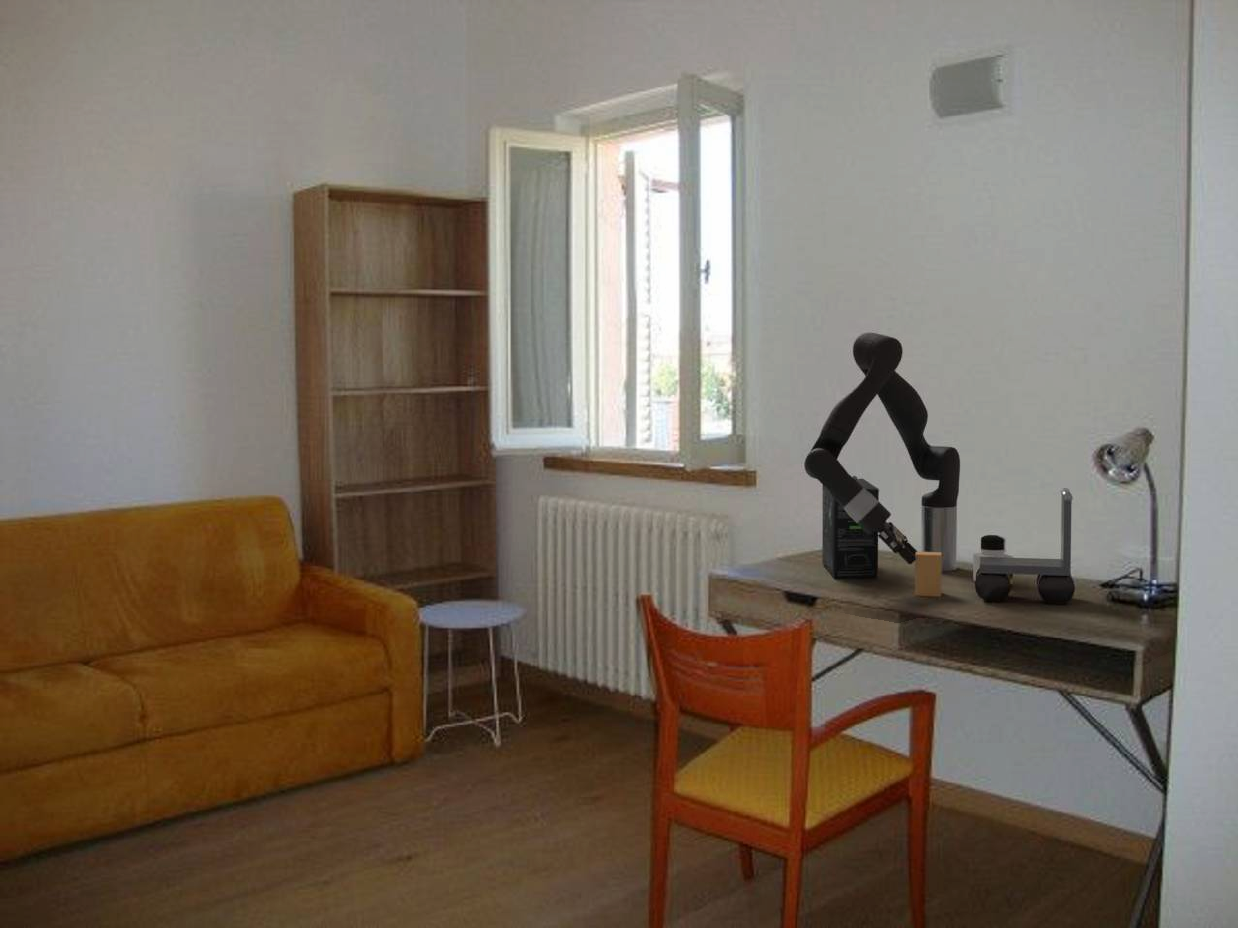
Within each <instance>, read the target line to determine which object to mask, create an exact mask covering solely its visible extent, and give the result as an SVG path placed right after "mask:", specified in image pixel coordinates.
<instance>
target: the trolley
mask: <svg viewBox="0 0 1238 928" xmlns="http://www.w3.org/2000/svg"><path fill="white" fill-rule="evenodd" d="M1060 494H1061V495H1060V496H1061V511H1060V513H1061V515H1060V517H1061V520H1060V525H1061V527H1060V558H1032V557H1030V558H1029V557H1013V558H1005V557H980V567H979V569H978V570H977V573H976V579H975V581H974V587H975V593H976V594H977V595H978V597H979V598H981V599H982V600H983V601H985V602H988V603H992V602H995V603H1000V602H1001V601H1003V600H1006V598H1007V597H1008V596H1009V594H1010V592H1011V589H1012V586H1011V585H1012V584H1011V582H1010V574H1013V575H1026V576H1027V575H1033V576H1036V585H1037V590H1038V594H1039V596H1040V598H1041V599H1042V600H1043V601H1044V602H1045V603H1047V604H1049V605H1054V606H1060V605H1064V604H1066V603H1068V602H1069V601H1071V600H1072V598H1073V596H1074V594H1075V591H1076V589H1075V587H1076V586H1075V583H1074V580H1073V576H1072V574H1071V573H1072V572H1071V571H1072V570H1071V568H1072V567H1071V564H1072V563H1071V562H1072V561H1071V560H1072V557H1071V555H1072V504H1073V503H1072V501H1073V495H1072V494H1071V491H1070V489H1069V488H1067V487H1063V488H1061V490H1060Z"/></svg>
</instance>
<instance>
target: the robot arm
mask: <svg viewBox="0 0 1238 928" xmlns="http://www.w3.org/2000/svg"><path fill="white" fill-rule="evenodd" d="M852 345H853V346H852V356H853V359H854V361H855V364H856V366H857V367H858V368H859V369H860V371H861V372H862V373H863V375H864V378H863V379H862V380H861V382H859V383H858V384H857V386H856V387H854V388H853V389H852V390H851V391H850V392H848V393H847V394H846V395H845V396H844V397H843V398H842V399H840V400H839V401H838V402H837V403H836V404H835V405H834V407H832V410H831V411H830V413H829V415H828V417H827V418H826V420H825V422H824V424H823V427H822V429H821V430H820V433H819V436H818V438H817V440H816V441H815V443H814V444H813V446H812V447H811V450H810V451H809V452H808V454H807V455H806V457H805V460H804V466H803V467H804V470H805V473H806V474H807V475H808V477H810V478H812V479H816V480H817V481H819V483H821V485H822V486H823V485H824V486H825V487H826V488H827V489H828V490H829V493H830V494H831V496H832V497H833V498H834V499H835V500H836V501H837V502H838V503H839V504H840V505H841V506H842V507H843V508H844V509H845V511H846V512H847V513H848V514H849V516H850V517H851V518H852V519H853V520H854V521H855V522H856V523H857V524H858V525H859V526H860V527H861V528H862V529H863V530H864V531H865V532H866V533H867V534H868V535H871V534H872V533H874V532H875V531H878V539H880V540H882V542H883V543H884V544H885V545H886V546H887V547H888V548H889V549H890V550H891V551H892V553H894V554H897V555H899V556H900V557H901V558H902V559H903V560H904V561H905V562H906V564H909V565H912V564H913V563H915V560H916V557H915V554H916V552H919V551H918V550H917V549H916V548H915V547H914V546H913V545H912V544H911V543H910V542H909V540H908V537H907V536H906V535H904V533H902V532H901V531H900V530H899V528H897V527H896V525H894V523H893V522H891V521H889V522H887V520H888V519H889V518H891V515H892V513H891V512H890V511H889V510H888V509H887V508H886V507H885V506H884V504H882V503H881V502H880V501H878V500H877V499H876V498H875V497H874V496H873V495H872V494H871V493H869V492H868V491H867V490H865V489H863V487H862V486H861V485H860V484H859V483H858V482H857V481H856V480H855V479H854V478H853V476H852V475H851V474H850V473H849V472H848V471H847V470H846V469H845V468H844V466H843V465H842V464H841V462H840V461H839V460H838V458H839V456H840V453H841V451H842V450H843V448H844V447H845V445H846V444H847V443H848V441H849V439H850V437H851V435H852V434H853V432H854V430H855V428H856V427H857V425H858V423H859V421H860V419H861V417H862V416H863V415H864V413H865V411H866V409H867V408H868V407H869V406H870V404H871V403H872V402H873V400H874V399H875V398H876V397H878V398H879V400H880V402H881V403H882V405H883V406H884V409H885V410H886V413H887V414H888V416H889V418H890V420H891V422H892V423H893V426H894V428H896V429H895V430H897V432H898V434H899V435H900V438H901V440H902V442H903V443H904V445H905V449H907V450H906V451H907V452H908V455H909V457H910V460H911V462H912V465H913V468H914V469H915V472H916V474H917V475H918V476H919V477H920V478H922V479H923V480H927V481H938V486H937V488H936V489H935V490H933V491H931V492H928V493H925V494H923V495H922V496H921V539H920V540H921V543H920V544H921V548H920V549H921V551H920V552H942V572H952V571H957V557H958V556H957V553H958V552H957V551H958V549H957V546H958V545H957V544H958V543H957V540H958V539H957V538H958V536H957V535H958V534H957V533H958V527H957V526H958V523H957V522H958V513H957V512H958V506H957V505H958V497H959V491H960V490H959V489H960V477H961V476H960V475H961V474H960V473H961V458H960V454H959V452H958V450H957V449H956V448H955V447H952V446H945V445H944V446H940V445H936V446H935V445H930V444H929V443H928V441H927V440H926V438H925V436H924V432H925V429H926V426H927V423H928V417H929V414H928V409H927V407H926V405H925V403H924V402H923V399H922V396H920V394H919V393H918V391H917V390H916V389H915V388H914V386H912V384H910V383H909V382H908V380H905V378H903V377H902V376H901V375H900V374H899V373H898V372H897V368H898V366H899V365H900V363H901V361H902V358H903V353H904V352H903V346H902V344H901V342H900V340H899V339H897V338H896V337H891V336H890V335H889V336H888V335H884V334H880V333H875V332H863V333H861V334H860V335H858V336H857V337H856V338H855V340H854V342H853V344H852Z"/></svg>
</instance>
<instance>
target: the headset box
mask: <svg viewBox="0 0 1238 928" xmlns="http://www.w3.org/2000/svg"><path fill="white" fill-rule="evenodd" d="M852 477H853V478H854V479H855V480H856V481H857V482H858V483H859V484H860V485H861V486H862V487H863V489H865V490H867V491H868V492H869V493H871V494H872V495H873V496H874V497H875V498H876V499H877V500H878V501H879V499H880V497H879V492H880V489H879V488H878V487H876V486H875V485H873V484H872V483H870V482H869V481H867V479H864V478H858V476H856V475H853V476H852ZM879 502H880V501H879ZM878 535H879V532H878V531H875V532H874V533H872V534H871V535H868V534H867V533H866V532H865V531H864V530H863V529H862V528H861V527H860V526H859V525H858V524H857V523H856V522H855V521H854V520H853V519H852V518H851V517H850V516H849V514H848V513H847V512H846V511H845V509H844V508H843V507H842V506H841V505H840V504H839V503H838V502H837V501H836V500H835V499H834V498H833V497H832V496H831V494H830V493H829V490H828V489H827V488H826V487H825V486H824V485H823V484H822V543H821V544H822V546H821V547H822V550H821V551H822V564H823V565H824V567H825V568H826V570H827V571H828V572H829V574H830V575H831V576H832V577H833V579H834V580H863V579H864V580H871V579H872V580H873V579H875V580H876V579H879V536H878Z"/></svg>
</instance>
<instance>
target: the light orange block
mask: <svg viewBox="0 0 1238 928" xmlns="http://www.w3.org/2000/svg"><path fill="white" fill-rule="evenodd" d="M915 557H916V560H915V561H914V583H915V584H914V595H915V596H917V597H918V596H923V597H942V573H943V571H942V552H921V551H918V552H916V554H915Z"/></svg>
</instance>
